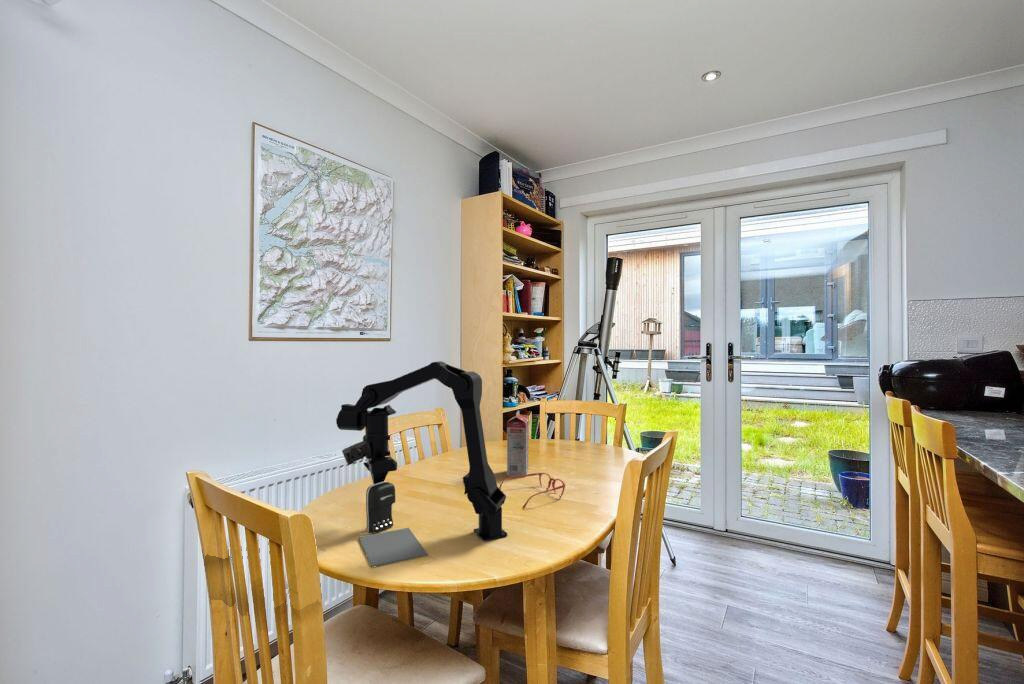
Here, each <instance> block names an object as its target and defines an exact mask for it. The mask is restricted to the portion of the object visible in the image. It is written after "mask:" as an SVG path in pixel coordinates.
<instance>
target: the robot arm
mask: <svg viewBox="0 0 1024 684" xmlns="http://www.w3.org/2000/svg"><path fill="white" fill-rule="evenodd" d="M433 380H437V381H438V382H439V383H441V384H442V385H444V386H445V387H448V388H450V389H452V393H453V396H454V399H455V401H456V403H457V405H458V406H459V409H460V410H461V416H462V422H463V431H464V436H465V443H466V451H467V458H468V464H469V470H468V473H466V474H465V475H463V477H462V482H463V486H464V495H466V497H467V499H468V501H469V502H470V503H471V504H472V506H473V510H474V512H475V514H476V515H478V527H477V528H473V532H474V534H475V535H476V536H477V537H479V538H480V540H482V541H484V542H485V541H486V542H487V541H490V540H494V539H498V538H503V537H508V532H506V531H505V530H504V529H503V508H502V506H503V505H504V504H505V501H506V499H507V495H506V494H505V493H504V492H503V491H502V490H500V489H499V486H498V483H497V480H496V476H495V473H494V472H493V469H492V468H491V467H490V464H489V462H488V455H487V450H486V442H485V435H484V428H483V421H482V414H481V407H480V406H481V403H482V402H481V401H482V396H483V380H482V377H481V375H479V374H478V372H475V371H466V370H464V369H461V368H458V367H455V366H452V365H450V364H447V363H446V362H444V361H441V360H439V361H433V362H430V364H428V365H425V366H423V367H420V368H418V369H416V370H414V371H410V372H408V373H406V374H403V375H401V376H400V377H396V378H395V379H392V380H391V379H390V380H386V381H381V382H377V383H372V384H367V385H364V387H363V388H362V391H361V395H360V397H359V399H357V402H356V403H355V404H349V403H346V404H341V406H340V408H341V409H340V410H339V412H338V414H337V417H336V418H335V421H336V423H335V424H336V426H337V428H338V429H339V430H341V431H358V432H359V431H360V432H361V431H363V430H364V429H365V434H364V435H363V436H362V441H360V442H357V443H354V444H353V445H350V446H348V447H346V448H343V449H342V451H341V453H342V454H343V457H344V461H345V462H346V464H347V465H352V464H354V463H355V462H357V461H359V460H363V459H364V458H366V462H363V466H364V467H365V468H366V470H367V471H368V472H370V476H371V480H372V483H373V484H376V483H380V482H384V481H385V480H386V478H387V476H388V474H389V472H396V471H397V470H398V462H397V461H396V460H395V459H394V458H393V457H392V456H391V451H390V450H389V441H390V440H391V435H390V434H389V416H393V415H395V414H396V413H397V411H396V410H395V409H394V408H392V406H391V405H390V404H388V403H389V402H391V401H392V400H394V399H395V398H397V397H398V396H399V395H400V394H402V393H403V392H405V391H408V390H411V389H413V388H415V387H418V386H421V385H423V384H426V383H428V382H430V381H433ZM382 405H384V406H383V407H378V406H382ZM368 409H371V410H368ZM373 484H372V485H373Z"/></svg>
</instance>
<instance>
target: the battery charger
mask: <svg viewBox="0 0 1024 684" xmlns="http://www.w3.org/2000/svg"><path fill="white" fill-rule="evenodd" d="M395 503H396V487H395V485H394V484H393V483H392V482H388V481H385V480H384V482H380V483H376V484H371V485H369V486H368V487H367V488H366V492H365V507H366V508H365V509H366V511H365V512H366V532H368V533H372V534H377V533H382V532H383V531H385V530H388V529H390V528H392V527H393V526H394V520H393V516H392V515H393V514H392V513H393V512H392V510H393V509H392V507H393V504H395Z"/></svg>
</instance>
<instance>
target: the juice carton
mask: <svg viewBox="0 0 1024 684" xmlns="http://www.w3.org/2000/svg"><path fill="white" fill-rule="evenodd" d="M506 454H507V455H506V476H507V475H508V476H507V477H514V476H521V475H527V473H528V474H529V419H528V418H527V417H525V416H523V415H521V414H520V409H518V410H517V411H516V413H515V415H514V416H513V417H511V418H510V419H509V420H508V421H507V422H506Z"/></svg>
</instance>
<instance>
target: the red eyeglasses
mask: <svg viewBox="0 0 1024 684" xmlns="http://www.w3.org/2000/svg"><path fill="white" fill-rule="evenodd" d="M543 475H547V476H548V478H549V481H548V485H547V488H546V490H544V491H540V492H537V493H534V494H533V495H531V496H530V497H529V498H527V500H526V502H525V503H524V505H523V506H522V508H526V506H527V505H528V503H529V501H530V500H531V499H532V498H533V497H536V496H537V495H541V494H545V493H548V492H552V491H553V492H554V493H555V492H556V490H560V489H562V491H561V494H560V495H561V496H560V497H562V496H563V495H564V492H565V490H566V489H565V487H566V483H565V482H564V481H563V480H562V479H560V478H553V477H551V476H550V474H548V473H546V472H533V473H528V474H527V475H521V476H508V477H507V478H504V479H503V480H502V481H501V482H500V483H499V486H498V488H499V489H500V490H501V489H502V486H503V483H504V482H505V481H507V480H509V479H515V478H522V477H523V478H525V477H524V476H526V477H534V476H538V481H539V485H540V487H541V486H543V483H542V481H541V478H542V476H543ZM557 481H560V482H561V484H562V485H560V486H556V487H555V485H556V482H557ZM551 485H552V486H551ZM550 487H552V488H551V489H550ZM501 491H502V490H501ZM556 493H557V492H556Z"/></svg>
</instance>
